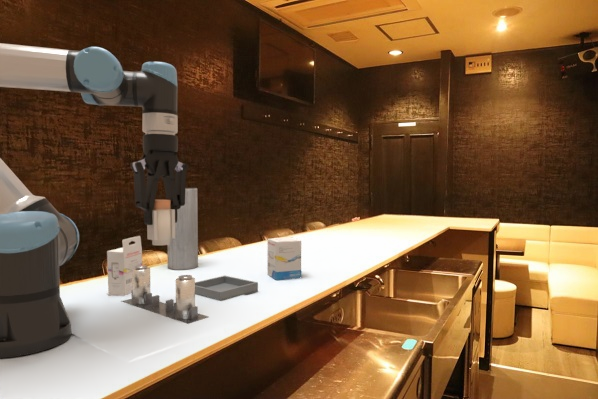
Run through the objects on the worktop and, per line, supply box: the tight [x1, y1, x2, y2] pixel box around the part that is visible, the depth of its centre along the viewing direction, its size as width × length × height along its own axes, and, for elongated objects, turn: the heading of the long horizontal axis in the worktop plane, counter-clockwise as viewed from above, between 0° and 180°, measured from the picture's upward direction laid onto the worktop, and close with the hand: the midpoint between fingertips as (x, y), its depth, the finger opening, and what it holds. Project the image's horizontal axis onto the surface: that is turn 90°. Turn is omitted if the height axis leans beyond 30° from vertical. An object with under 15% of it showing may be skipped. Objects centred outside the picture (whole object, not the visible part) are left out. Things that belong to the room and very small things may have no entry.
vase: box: [166, 187, 199, 271], centre depth 146 cm, size 10×10×27 cm
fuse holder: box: [120, 264, 209, 325], centre depth 98 cm, size 6×26×9 cm, turn 52°
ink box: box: [267, 236, 302, 281], centre depth 133 cm, size 9×8×12 cm
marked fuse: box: [151, 199, 171, 246], centre depth 97 cm, size 4×4×10 cm
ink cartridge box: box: [106, 235, 143, 297], centre depth 113 cm, size 9×5×15 cm, turn 168°
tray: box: [195, 275, 259, 302], centre depth 113 cm, size 13×13×2 cm
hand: (161, 238), depth 97 cm, fingers closed on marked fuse, 4 cm apart
